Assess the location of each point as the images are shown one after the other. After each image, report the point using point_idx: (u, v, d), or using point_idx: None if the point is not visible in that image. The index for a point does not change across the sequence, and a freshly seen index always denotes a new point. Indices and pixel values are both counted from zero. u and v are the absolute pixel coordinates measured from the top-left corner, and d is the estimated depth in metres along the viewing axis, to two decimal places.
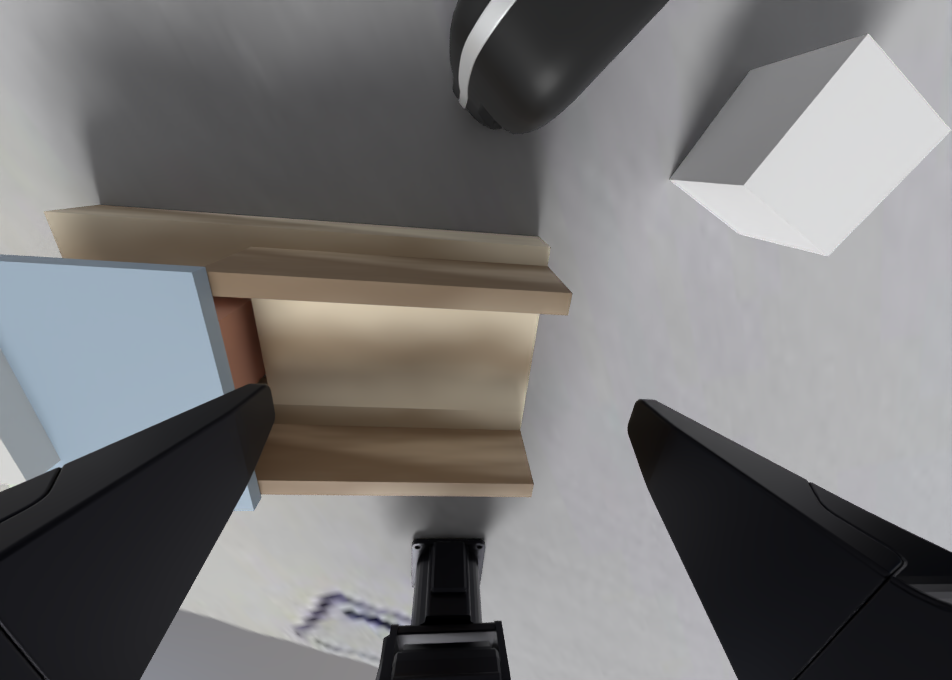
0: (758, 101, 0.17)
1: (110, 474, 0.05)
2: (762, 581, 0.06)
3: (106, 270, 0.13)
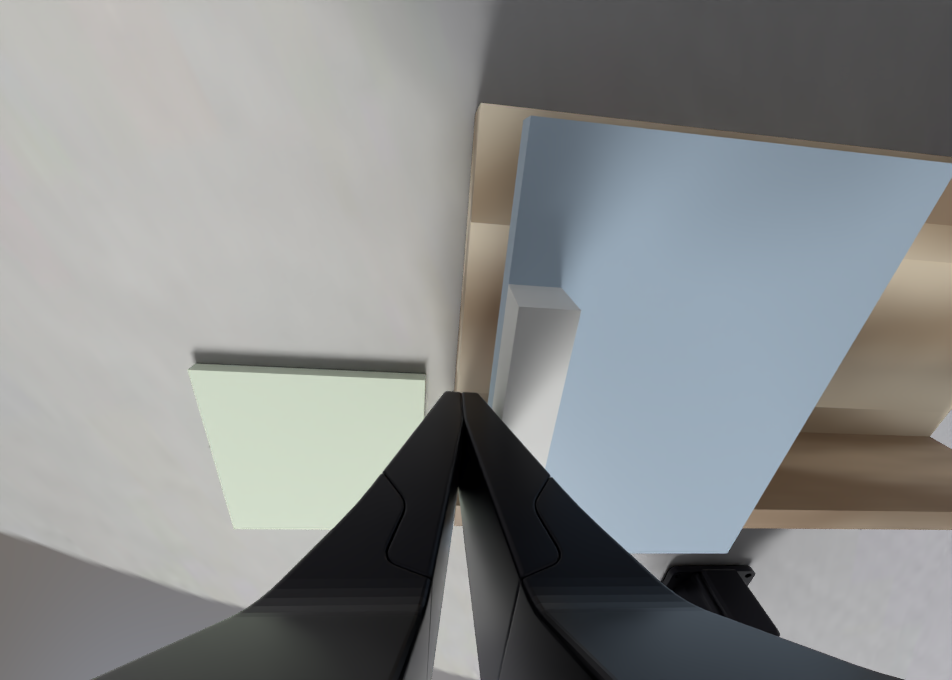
0: None
1: (435, 480, 0.05)
2: (487, 583, 0.05)
3: (820, 157, 0.07)
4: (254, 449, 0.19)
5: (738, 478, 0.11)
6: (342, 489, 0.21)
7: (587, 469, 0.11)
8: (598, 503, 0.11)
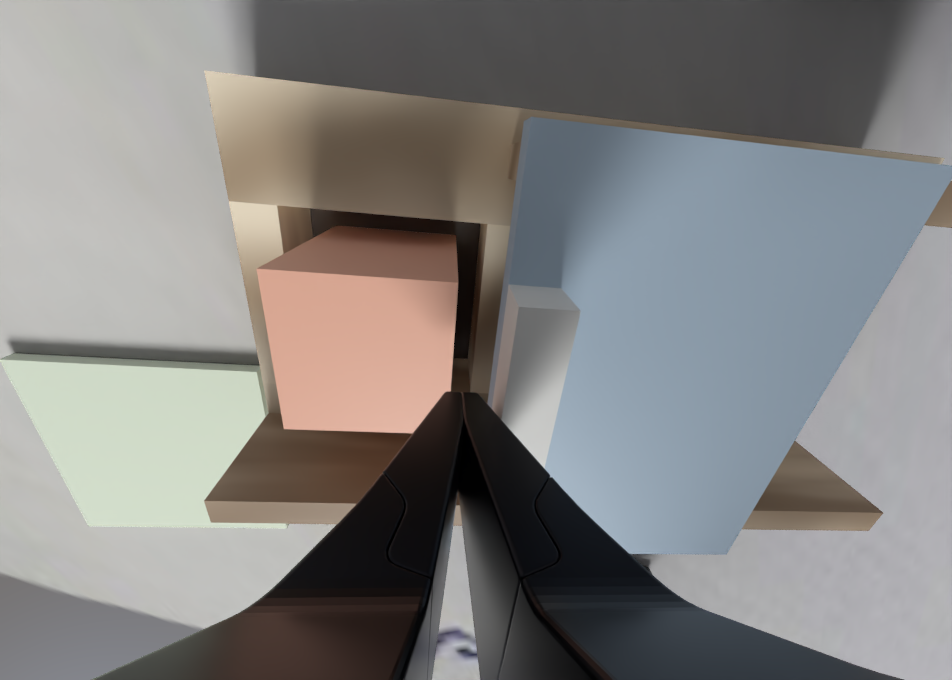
0: None
1: (435, 480, 0.05)
2: (487, 583, 0.05)
3: (820, 159, 0.07)
4: (91, 443, 0.19)
5: (737, 479, 0.11)
6: (194, 485, 0.20)
7: (586, 469, 0.11)
8: (597, 504, 0.11)
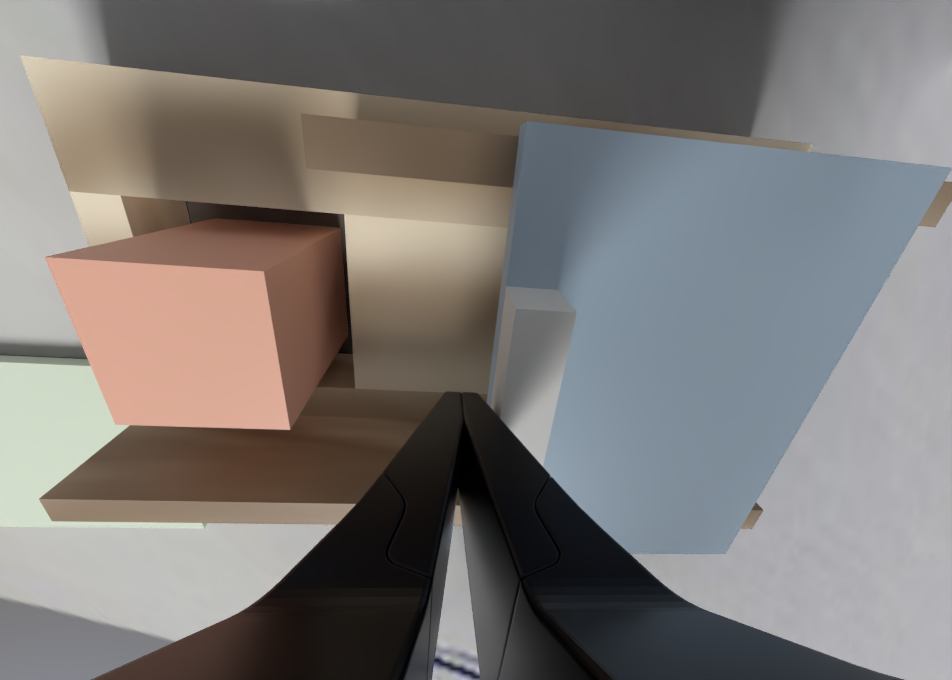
0: None
1: (435, 480, 0.05)
2: (487, 582, 0.05)
3: (813, 161, 0.07)
4: None
5: (735, 479, 0.11)
6: None
7: (584, 469, 0.11)
8: (596, 503, 0.11)
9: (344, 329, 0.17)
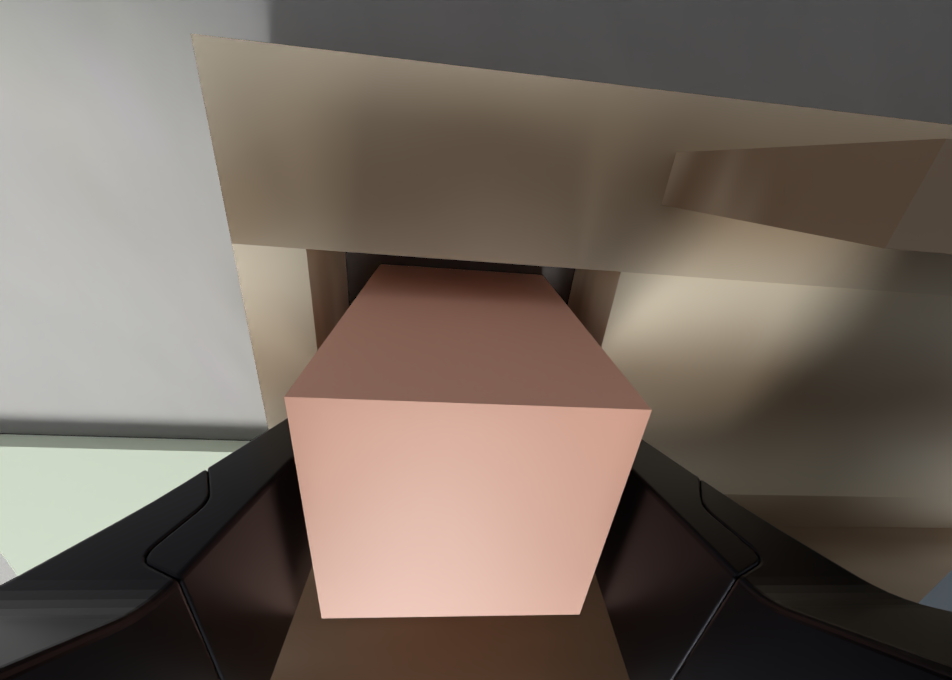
0: None
1: (257, 477, 0.05)
2: (647, 582, 0.06)
3: None
4: (53, 540, 0.14)
5: None
6: None
7: None
8: None
9: None
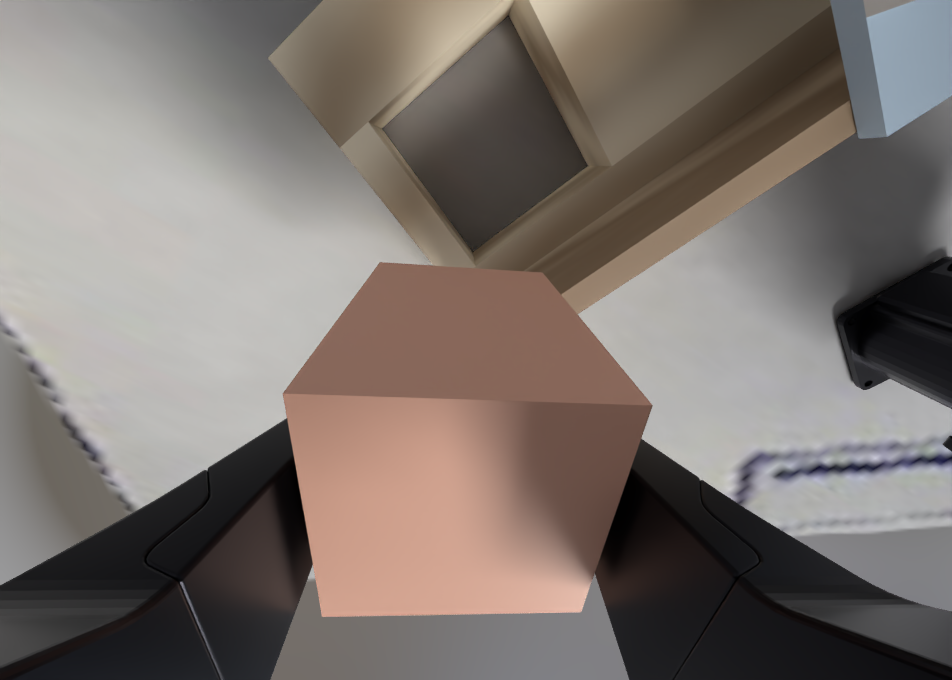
0: None
1: (257, 477, 0.05)
2: (647, 581, 0.06)
3: None
4: None
5: None
6: None
7: None
8: None
9: None
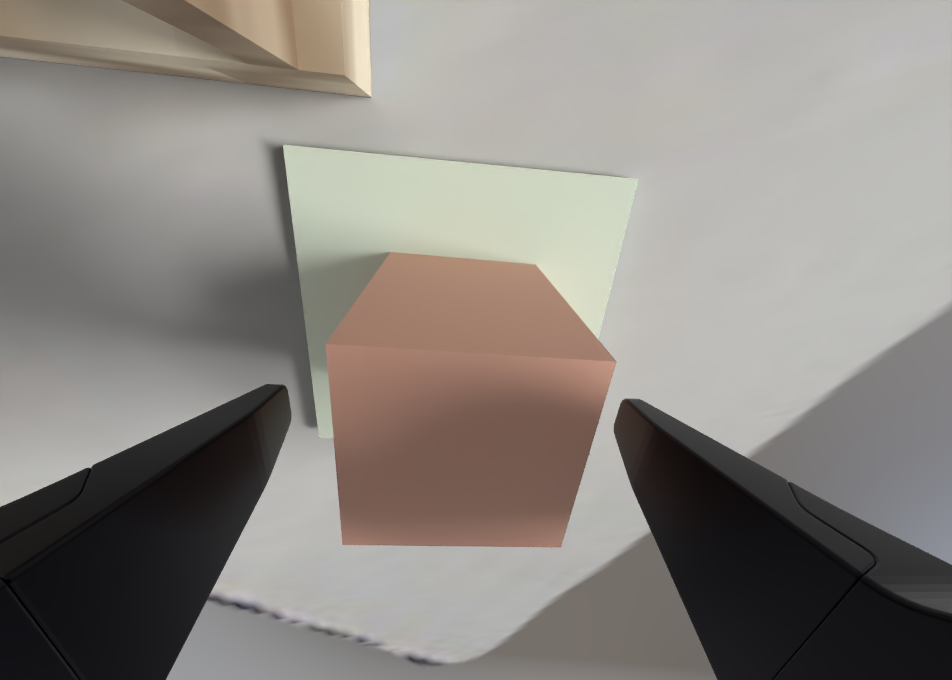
0: None
1: (140, 475, 0.05)
2: (740, 581, 0.06)
3: None
4: None
5: None
6: None
7: None
8: None
9: None
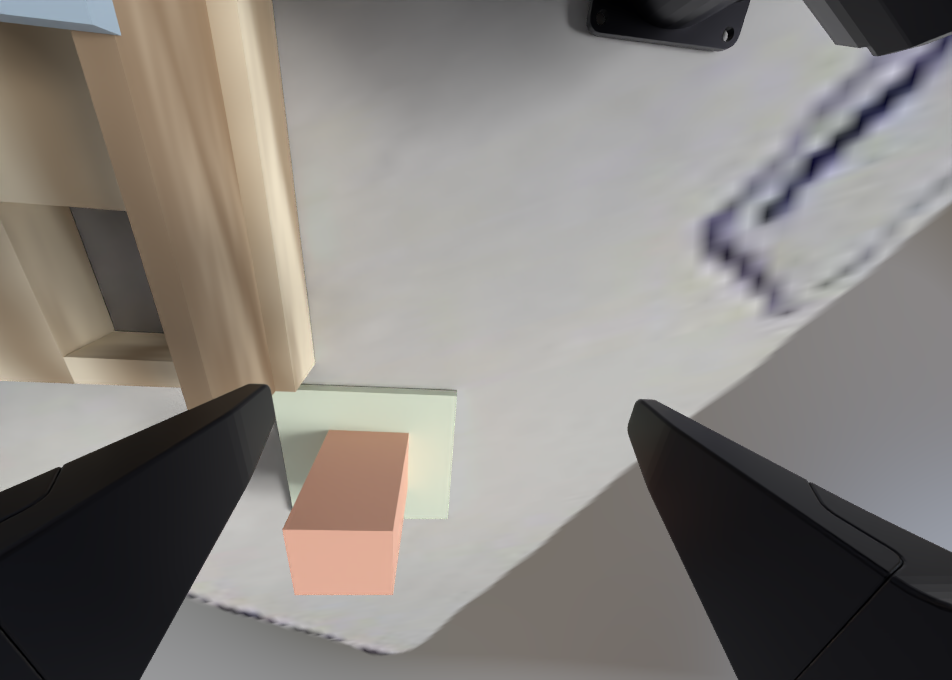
0: None
1: (110, 474, 0.05)
2: (762, 581, 0.06)
3: None
4: None
5: None
6: None
7: None
8: None
9: (406, 490, 0.25)
